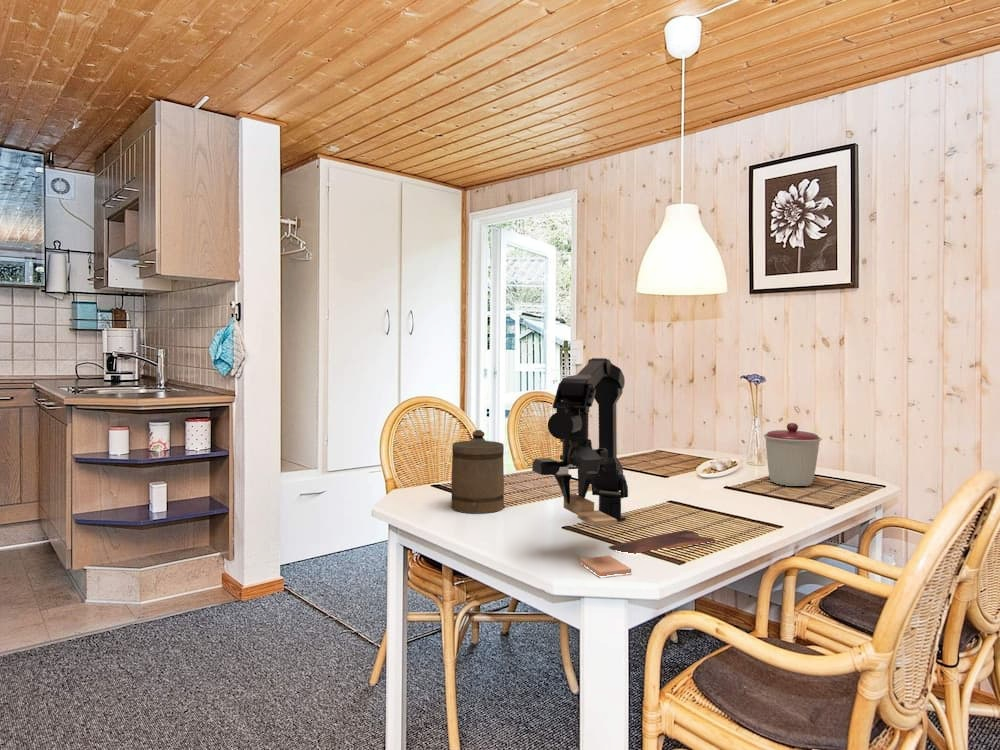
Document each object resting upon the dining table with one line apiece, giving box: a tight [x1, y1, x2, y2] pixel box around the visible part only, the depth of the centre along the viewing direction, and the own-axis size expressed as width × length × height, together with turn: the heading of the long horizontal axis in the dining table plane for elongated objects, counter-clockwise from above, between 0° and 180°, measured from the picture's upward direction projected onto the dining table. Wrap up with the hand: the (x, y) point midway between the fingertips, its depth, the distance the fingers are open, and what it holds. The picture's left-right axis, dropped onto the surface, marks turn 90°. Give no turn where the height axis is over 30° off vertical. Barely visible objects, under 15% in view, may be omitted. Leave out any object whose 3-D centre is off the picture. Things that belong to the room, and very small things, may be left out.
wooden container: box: [450, 429, 505, 514], centre depth 183 cm, size 15×15×22 cm
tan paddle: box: [563, 493, 618, 528], centre depth 140 cm, size 17×5×3 cm, turn 20°
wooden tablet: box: [608, 529, 716, 554], centre depth 150 cm, size 26×2×10 cm
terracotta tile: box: [579, 555, 632, 576], centre depth 132 cm, size 2×7×9 cm
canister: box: [763, 422, 823, 487], centre depth 220 cm, size 18×18×21 cm
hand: (574, 502), depth 145 cm, fingers closed on tan paddle, 3 cm apart
